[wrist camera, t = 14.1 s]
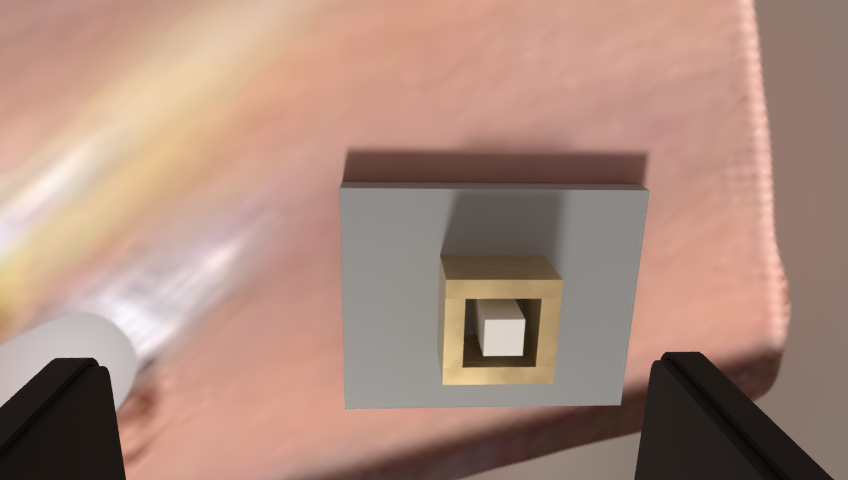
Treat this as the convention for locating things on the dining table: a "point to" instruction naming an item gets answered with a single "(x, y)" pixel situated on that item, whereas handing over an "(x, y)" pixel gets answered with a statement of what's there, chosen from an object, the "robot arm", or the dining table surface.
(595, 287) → the post stand
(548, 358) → the collar
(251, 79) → the dining table surface
